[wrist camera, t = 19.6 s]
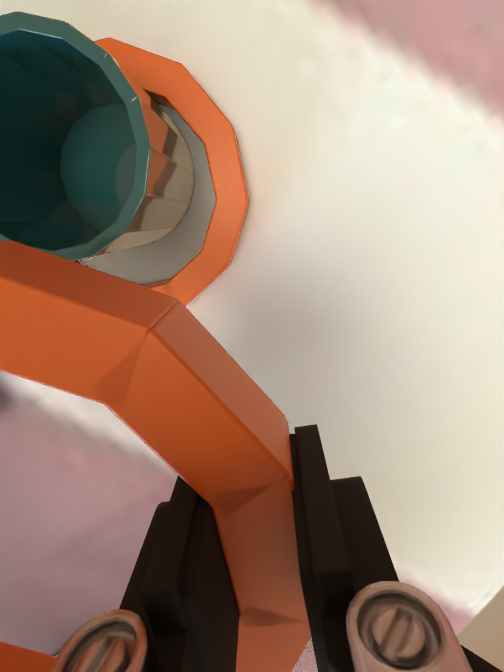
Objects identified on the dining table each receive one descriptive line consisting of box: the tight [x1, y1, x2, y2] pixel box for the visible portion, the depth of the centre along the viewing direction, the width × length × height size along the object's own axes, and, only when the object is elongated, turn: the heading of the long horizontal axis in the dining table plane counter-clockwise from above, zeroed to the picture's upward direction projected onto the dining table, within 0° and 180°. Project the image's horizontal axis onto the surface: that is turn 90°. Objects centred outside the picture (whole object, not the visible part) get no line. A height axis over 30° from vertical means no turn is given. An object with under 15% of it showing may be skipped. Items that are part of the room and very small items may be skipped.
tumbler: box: [0, 12, 194, 261], centre depth 18 cm, size 8×8×9 cm
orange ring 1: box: [72, 38, 249, 306], centre depth 21 cm, size 13×13×2 cm
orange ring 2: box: [0, 241, 311, 672], centre depth 9 cm, size 13×13×2 cm
